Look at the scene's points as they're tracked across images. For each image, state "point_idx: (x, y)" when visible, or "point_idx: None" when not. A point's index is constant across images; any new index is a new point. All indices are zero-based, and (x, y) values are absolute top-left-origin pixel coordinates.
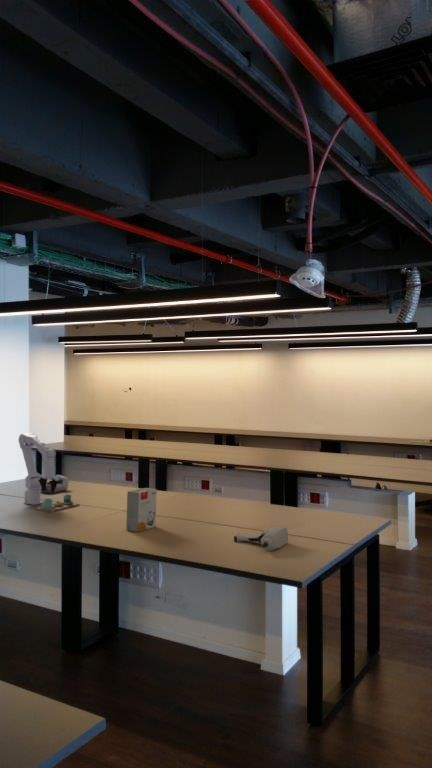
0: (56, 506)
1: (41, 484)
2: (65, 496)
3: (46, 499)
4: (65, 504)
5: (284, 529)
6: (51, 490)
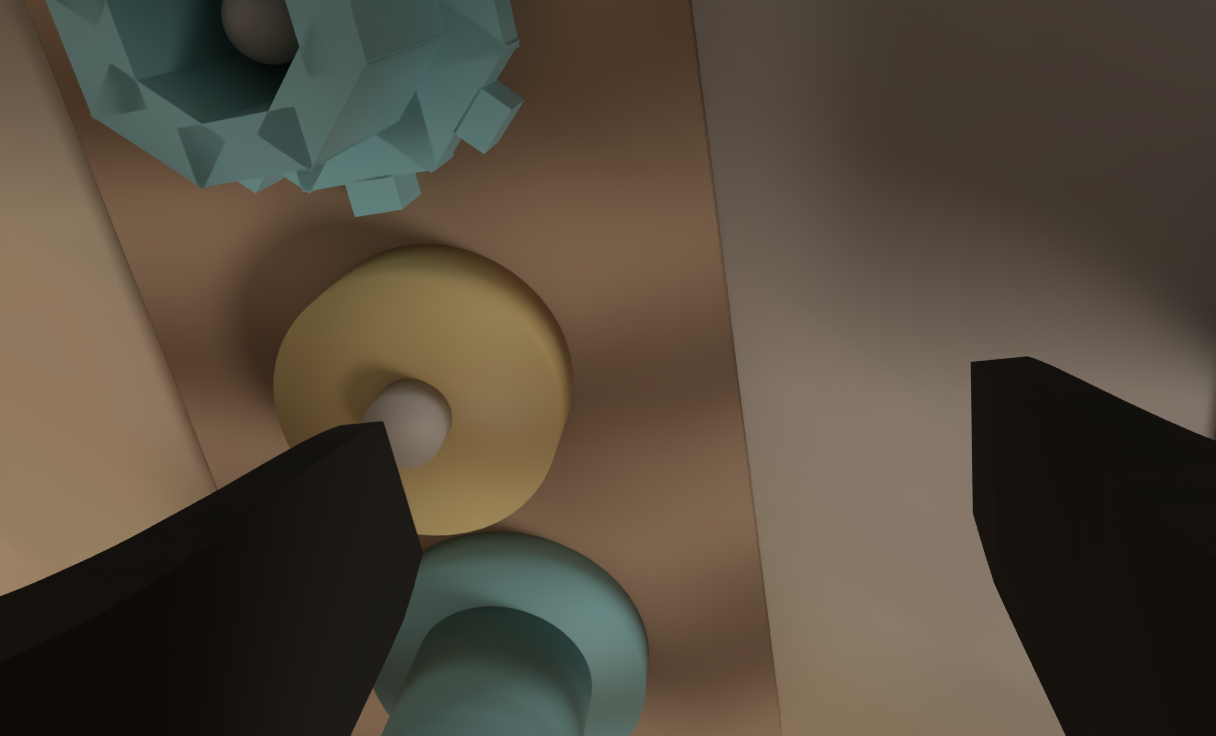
0: (340, 276)
1: (1192, 497)
2: (417, 727)
3: (294, 7)
4: (423, 555)
5: None
6: (309, 450)
